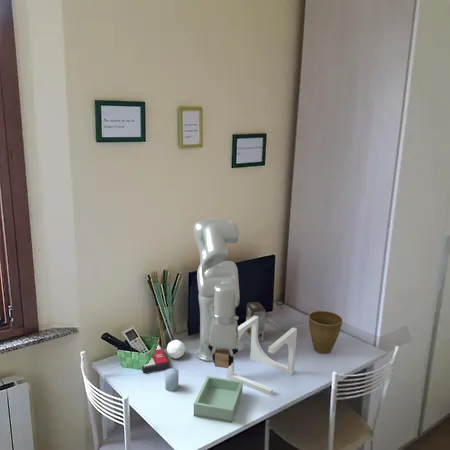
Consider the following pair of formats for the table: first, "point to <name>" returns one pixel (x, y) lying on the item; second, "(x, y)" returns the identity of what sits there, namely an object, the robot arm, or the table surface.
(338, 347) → the table surface
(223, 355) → the cube
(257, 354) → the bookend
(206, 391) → the tote
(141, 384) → the table surface
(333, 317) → the plant pot
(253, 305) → the coffee box
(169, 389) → the cylinder
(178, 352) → the geometric ball
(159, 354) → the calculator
